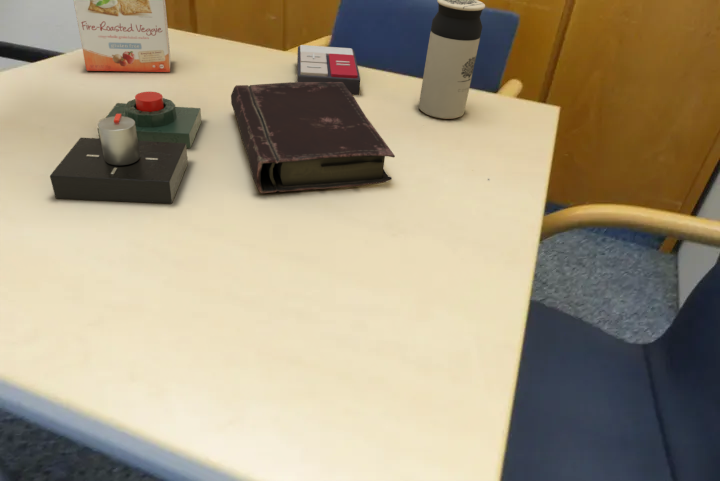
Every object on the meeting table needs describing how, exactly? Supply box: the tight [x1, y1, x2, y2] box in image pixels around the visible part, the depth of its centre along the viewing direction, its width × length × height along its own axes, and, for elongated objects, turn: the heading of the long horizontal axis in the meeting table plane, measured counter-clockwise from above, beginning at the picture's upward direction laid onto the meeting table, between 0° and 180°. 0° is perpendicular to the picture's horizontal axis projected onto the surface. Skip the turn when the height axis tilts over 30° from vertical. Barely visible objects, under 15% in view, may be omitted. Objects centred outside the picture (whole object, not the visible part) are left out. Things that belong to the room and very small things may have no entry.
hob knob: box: [97, 114, 140, 166], centre depth 65 cm, size 4×4×5 cm
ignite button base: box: [97, 97, 202, 149], centre depth 79 cm, size 12×9×4 cm
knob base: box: [49, 137, 189, 205], centre depth 67 cm, size 13×10×3 cm
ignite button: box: [134, 91, 164, 112], centre depth 77 cm, size 4×4×2 cm
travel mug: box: [418, 0, 486, 120], centre depth 91 cm, size 8×8×18 cm
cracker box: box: [73, 0, 172, 73], centre depth 94 cm, size 14×6×21 cm, turn 104°
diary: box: [230, 81, 396, 194], centre depth 79 cm, size 19×25×5 cm
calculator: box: [296, 44, 361, 96], centre depth 103 cm, size 11×4×15 cm
